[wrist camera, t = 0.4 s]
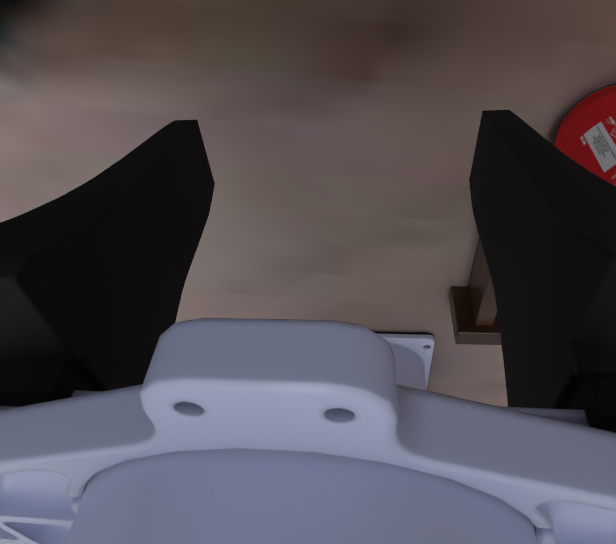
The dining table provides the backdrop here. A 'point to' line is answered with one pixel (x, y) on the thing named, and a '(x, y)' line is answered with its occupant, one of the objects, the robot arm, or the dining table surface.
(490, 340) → the can holder
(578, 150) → the beverage can
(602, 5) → the dining table surface
